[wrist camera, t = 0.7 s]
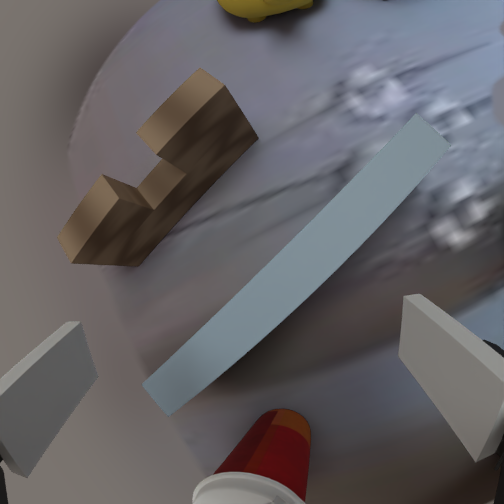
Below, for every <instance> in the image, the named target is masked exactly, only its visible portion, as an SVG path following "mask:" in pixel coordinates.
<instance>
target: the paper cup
mask: <svg viewBox="0 0 504 504" xmlns="http://www.w3.org/2000/svg"><path fill="white" fill-rule="evenodd" d="M310 444H311V431H310V427H309V424H308V422H307V421H306V420H305V418H304V417H303V416H301V415H300V414H298V413H297V412H295V411H292V410H288V409H274V410H271V411H268V412H266V413H265V414H263V415H262V416H261V417H260V418H259V419H258V420H257V421H256V422H255V424H254V425H253V426H252V427H251V429H250V430H249V431H248V432H247V434H246V435H245V436H244V437H243V439H242V440H241V441H240V442H239V444H238V445H237V446H236V447H235V448H234V450H233V451H232V452H231V453H230V455H229V456H228V457H227V458H226V460H225V461H224V462H223V463H222V464H221V466H220V467H219V468H218V469H217V470H216V471H215V473H214V474H213V475H212V476H209V477H207V478H205V479H204V480H202V481H201V482H200V483H199V484H198V485H197V487H196V488H195V490H194V493H193V504H306V503H305V496H306V487H307V478H308V468H309V457H310Z"/></svg>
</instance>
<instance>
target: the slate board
mask: <svg viewBox="0 0 504 504" xmlns="http://www.w3.org/2000/svg"><path fill="white" fill-rule="evenodd" d="M450 146H451V144H449V143H448V142H447V141H446V140H445V139H444V138H443V137H442V136H441V135H440V134H439V133H438V132H437V131H436V130H435V129H434V128H433V127H431V126H430V125H429V124H428V123H427V122H426V121H425V120H424V119H422V118H421V117H420V116H419V115H418V114H417V113H416V114H415V115H414V116H413V117H412V118H411V119H410V120H409V121H408V122H407V123H406V124H405V125H404V126H403V128H402V129H401V130H400V131H399V132H398V133H397V134H396V135H395V136H394V137H393V138H392V139H391V140H390V141H389V142H388V143H387V144H386V145H385V146H384V147H383V148H382V149H381V150H380V151H379V152H378V153H377V154H376V155H375V157H374V158H373V159H372V160H371V161H370V162H369V163H368V164H367V165H366V166H365V167H364V168H363V169H362V170H361V171H360V172H359V173H358V174H357V175H356V176H355V177H354V178H353V179H352V180H351V181H350V182H349V183H348V184H347V185H346V186H345V187H344V188H343V189H342V190H341V191H340V192H339V193H338V194H337V195H336V196H335V197H334V198H333V199H332V200H331V201H330V202H329V203H328V204H327V205H326V206H325V207H324V208H323V209H322V210H321V211H320V212H319V213H318V214H317V215H316V216H315V217H314V218H313V219H312V220H311V221H310V222H309V223H308V224H307V225H306V226H305V227H304V228H303V229H302V230H301V231H300V232H299V233H298V234H297V235H296V236H295V237H294V238H293V239H292V240H291V241H290V242H289V243H288V244H287V245H286V246H285V247H284V248H283V249H282V250H281V251H280V252H279V253H278V254H277V255H276V256H275V257H274V258H273V259H272V260H271V261H270V262H269V263H268V264H267V265H266V266H265V267H264V268H263V269H262V270H261V271H260V272H259V273H258V274H257V275H256V276H255V277H254V278H253V279H252V280H251V281H250V282H249V283H248V284H246V285H245V286H244V287H243V288H242V289H241V290H240V291H239V292H238V293H237V294H236V295H235V296H234V297H233V298H232V299H231V300H230V301H229V302H228V303H227V304H226V305H225V306H224V307H223V308H222V309H221V310H220V311H219V312H218V313H217V314H215V315H214V316H213V317H212V318H211V319H210V320H209V321H208V322H207V323H206V324H205V325H204V326H203V327H202V328H201V329H200V330H199V331H198V332H197V333H196V334H195V335H194V336H193V337H191V338H190V339H189V340H188V341H187V342H186V343H185V344H184V345H183V346H182V347H181V348H180V349H179V350H178V351H177V352H176V353H175V354H174V355H173V356H171V357H170V358H169V359H168V360H167V361H166V362H165V363H164V364H163V365H162V366H161V367H160V368H159V369H158V370H157V371H156V372H154V373H153V374H152V375H151V376H150V377H149V378H148V379H147V380H146V381H145V382H144V383H143V384H142V386H143V387H144V389H145V390H146V391H147V392H148V393H149V395H150V396H151V397H152V398H153V400H154V401H155V402H156V403H157V404H158V406H159V407H160V408H161V409H162V410H163V411H164V413H165V414H166V415H167V416H168V417H169V416H170V415H172V414H173V413H174V412H175V411H177V410H178V409H179V408H180V407H182V406H183V405H184V404H186V403H187V402H188V401H189V400H191V399H192V398H193V397H194V396H196V395H197V394H198V393H199V392H201V391H202V390H203V389H204V388H205V387H207V386H208V385H209V384H210V383H212V382H213V381H214V380H215V379H216V378H218V377H219V376H220V375H221V374H222V373H224V372H225V371H226V370H227V369H228V368H229V367H231V366H232V365H233V364H234V363H235V362H237V361H238V360H239V359H240V358H241V357H242V356H244V355H245V354H246V353H247V352H248V351H249V350H250V349H252V348H253V347H254V346H255V345H256V344H257V343H258V342H260V341H261V340H262V339H263V338H264V337H265V336H266V335H267V334H269V333H270V332H271V331H272V330H273V329H274V328H275V327H276V326H277V325H279V324H280V323H281V322H282V321H283V320H284V319H285V318H286V317H287V316H288V315H289V314H291V313H292V312H293V311H294V310H295V309H296V308H297V307H298V306H299V305H300V304H301V303H302V302H303V301H304V300H306V299H307V298H308V297H309V296H310V295H311V294H312V293H313V292H314V291H315V290H316V289H317V288H318V287H319V286H320V285H321V284H322V283H323V282H324V281H325V280H326V279H327V278H329V277H330V276H331V275H332V274H333V273H334V272H335V271H336V270H337V269H338V268H339V267H340V266H341V265H342V264H343V263H344V262H345V261H346V260H347V259H348V258H349V257H350V256H351V255H352V254H353V253H354V252H355V251H356V250H357V249H358V248H359V247H360V246H361V245H362V244H363V243H364V241H365V240H366V239H367V238H368V237H369V236H370V235H371V234H372V233H373V232H374V231H375V230H376V229H377V228H378V227H379V226H380V225H381V224H382V223H383V222H384V221H385V220H386V218H387V217H388V216H389V215H390V214H391V213H392V212H393V211H394V210H395V209H396V208H397V207H398V206H399V205H400V203H401V202H402V201H403V200H404V199H405V198H406V197H407V196H408V195H409V194H410V192H411V191H412V190H413V189H414V188H415V187H416V186H417V185H418V184H419V182H420V181H421V180H422V179H423V178H424V177H425V176H426V174H427V173H428V172H429V171H430V170H431V169H432V168H433V166H434V165H435V164H436V163H437V162H438V161H439V159H440V158H441V157H442V156H443V155H444V153H445V152H446V151H447V150H448V149H449V148H450Z"/></svg>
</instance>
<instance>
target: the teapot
mask: <svg viewBox="0 0 504 504" xmlns="http://www.w3.org/2000/svg"><path fill="white" fill-rule="evenodd" d="M217 1H218V2H219V4H220V5H221V6H222V7H223V9H225V10H226V11H227V12H229V13H231V14H233V15H236V16H239V17H243V18H247V19H248V21H250V22H253V23H256V22H260V21H262V20H264V19H265V18H266V16H269V15H274V14H279V13H283V12H286V11H290V10H292V9H295V8H298V9H307V8H310V7H311V6H312V5H313V0H217Z"/></svg>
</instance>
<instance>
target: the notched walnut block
mask: <svg viewBox="0 0 504 504" xmlns="http://www.w3.org/2000/svg"><path fill="white" fill-rule="evenodd" d="M136 133H137V134H138V135H139V136H140V138H141V139H142V140H143V141H144V142H145V143H146V144H147V145H148V146H149V147H150V148H151V149H152V151H153V152H154V153H155V154H156V155H158V156H159V157H161V158H163V159H162V160H161V161H160V162H159V163H158V164H157V165H156V167H155V168H154V169H153V170H152V171H151V172H150V173H149V174H148V176H147V177H146V178H145V179H144V180H143V181H142V183H141V184H140V185H139V186H138V187H137V188H135V187H132V186H130V185H127V184H125V183H122V182H120V181H117V180H115V179H113V178H110V177H108V176H105V175H103V174H101V176H100V177H99V178H98V180H97V181H96V182H95V184H94V185H93V186H92V188H91V189H90V190H89V192H88V193H87V194H86V196H85V197H84V199H83V200H82V201H81V203H80V204H79V206H78V207H77V208H76V210H75V211H74V213H73V214H72V216H71V217H70V219H69V220H68V222H67V223H66V225H65V226H64V228H63V229H62V231H61V232H60V234H59V235H58V237H57V238H58V240H59V242H60V244H61V246H62V248H63V250H64V251H65V253H66V255H67V257H68V259H69V260H70V262H71V263H74V264H94V265H117V266H139V265H140V264H141V263H142V262H143V261H144V260H145V258H146V257H147V256H148V255H149V254H150V253H151V251H152V250H153V249H154V248H155V247H156V246H157V245H158V243H159V242H160V241H161V240H162V239H163V238H164V237H165V235H166V234H167V233H168V232H169V231H170V230H171V229H172V228H173V227H174V225H175V224H176V223H177V222H178V221H179V220H180V219H181V218H182V217H183V216H184V214H185V213H186V212H187V211H188V210H189V209H190V208H191V207H192V206H193V205H194V204H195V203H196V201H197V200H198V199H199V198H200V197H201V196H202V195H203V194H204V193H205V192H206V191H207V190H208V189H209V188H210V187H211V186H212V185H213V184H214V182H215V181H216V180H217V179H218V178H219V177H220V176H221V175H222V174H223V173H224V172H225V171H226V170H227V169H228V168H229V167H230V166H231V165H232V164H233V163H234V162H235V161H236V160H237V159H238V158H239V157H240V156H241V155H242V154H243V153H244V152H245V151H246V150H247V149H248V148H249V147H250V146H251V145H252V144H253V143H254V142H255V141H256V140H257V139H258V136H257V134H256V133H255V131H254V130H253V128H252V126H251V125H250V123H249V122H248V120H247V118H246V117H245V115H244V114H243V112H242V111H241V109H240V108H239V106H238V104H237V103H236V101H235V100H234V98H233V97H232V95H231V94H230V92H229V91H228V89H227V88H226V86H225V85H224V84H223V83H221V82H220V81H219V80H217V79H216V78H214V77H213V76H211V75H210V74H209V73H207V72H206V71H204V70H203V69H201V68H199V69H198V70H197V71H196V72H195V73H193V74H192V75H191V76H190V77H189V78H188V79H187V80H186V81H185V82H184V83H183V84H182V85H181V86H180V87H179V88H178V89H177V90H176V91H175V92H174V93H173V94H172V95H171V96H170V97H169V98H168V99H167V100H166V101H165V102H164V103H163V104H162V105H161V106H160V107H159V108H158V109H157V110H156V111H155V112H154V113H153V115H152V116H151V117H150V118H149V119H148V120H147V121H146V122H145V123H144V124H143V125H142V127H141V128H140V129H139V130H138V131H137V132H136Z"/></svg>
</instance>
